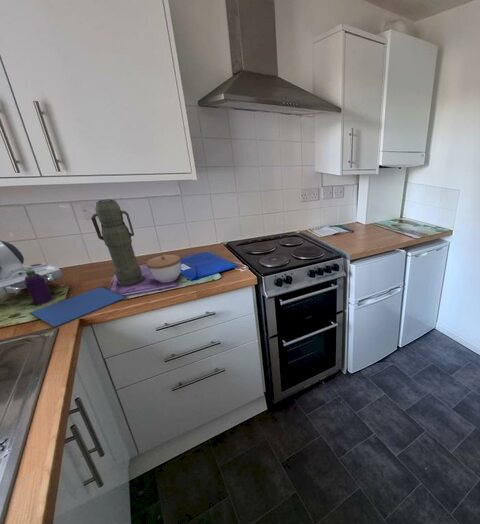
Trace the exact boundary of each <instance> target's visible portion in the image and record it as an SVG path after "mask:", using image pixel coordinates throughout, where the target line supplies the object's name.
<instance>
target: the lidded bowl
mask: <svg viewBox="0 0 480 524" xmlns="http://www.w3.org/2000/svg"><path fill="white" fill-rule="evenodd" d="M145 264H146V265H145V266H146V267H147V270H148V273H149V274H150V276H151V277H152V278H153V279H154V280H156V281H158V282H159V283H163V284H166V283H171V282H175V281H176V280H177V279H179V278H178V277H179V276H180V275H181V272H182V262H181V257H180V256H179V255H176V254H164V255H162V254H161V255H159V256H154V257H152V258H150V259H148V260H147V261H146V262H145Z"/></svg>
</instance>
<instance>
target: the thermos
mask: <svg viewBox="0 0 480 524" xmlns="http://www.w3.org/2000/svg"><path fill="white" fill-rule="evenodd" d="M95 212H96V213H94V214H92V216H91V218H90V220H91V222H92V224H93V227H94V229H95V233H96V235H97V239H99V240H101V241H104V245H105V246H106V247H107V249H108V252H109V255H110V258H111V261H112V265H113V267H114V275H115V279H116V280H117V281H118V285H119V286H121V287H130V286H133V285H137V284H139V283H141V282H142V281H143V280H144V278H143V277H144V276H143V272H142V269H141V267H140V265H139V263H138V261H137V258H136V254H135V251H134V248H133V245H132V243H133V240H132V237H134V236H135V232H134V229H133V225H132V222H131V217H130V215H129V213H128V212H127V211H126V210H122V209H121V206H120V205H119V203H118V202H117V201H116V200H114V199H111V198H110V199H109V198H108V199H100V200H98V201H96V203H95ZM123 215H125V216H126V219H127V222H128V223H127V224H128V226H129V227H128V226H127V225H126V222H125V221H124V217H123ZM96 217H97V218H98V221H99V223H100V227H101V230H100V227H99V224H98V221H97V219H96ZM129 229H130V230H129Z"/></svg>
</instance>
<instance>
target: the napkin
mask: <svg viewBox="0 0 480 524" xmlns="http://www.w3.org/2000/svg"><path fill="white" fill-rule="evenodd" d="M124 299H126V296H124V295H121V294H119V293H117V292H114V291H111V290H109V289H107V288H105V287H102V286H100V287H97V288H95V289H91V290H89V291H86V292H83V293H80V294H78V295H75V296H72V297H69V298H66V299H64V300H61V301H58V302H56V303H53V304H50V305H48V306H47V305H46V306H44V307H42V308H40V309H35V310H33V311H31V312H30V314H31V315H32V316H34V317H36V318H38V319H39V320H41V321H43V322H44V323H45V324H48V325H49V326H51V327H53V328H57V327H60V326H61V325H64V324H66V323H68V322H71V321H73V320H77V319H78V318H81V317H84V316H85V315H88V314H91V313H93V312H96V311H98V310H100V309H102V308H105V307H107V306H110V305H112V304H115V303H117V302H119V301H122V300H124Z"/></svg>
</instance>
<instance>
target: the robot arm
mask: <svg viewBox="0 0 480 524" xmlns="http://www.w3.org/2000/svg"><path fill="white" fill-rule="evenodd" d="M24 262H25V259H24V256H23V254H22V252H21V251H20V250H19V249H18V248H17V247H16V246H15V245H13V244H12V243H10V242H8V241H4V240H0V297H2V296H6V295H8V294H19V293H21V292H22V290H25V289H26V290H27V288H26V286H25V283H24V281H25V277H26V276H27V274H26V272H27V271H30V270H34V271H35V273H36V274H39V275H40V276H41V277H43V278H44V280H45V282H46V283H49V284H50V283H54V282H55V280H57V279H61V278H62V277H63V272H62V270H61V269H60V268H59V267H57V266H54V265H50V264H49V265H48V264H47V263H44V262H42V263H41V262H40V263H35V264H27V265H26V264H25V265H23V264H24Z"/></svg>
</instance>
